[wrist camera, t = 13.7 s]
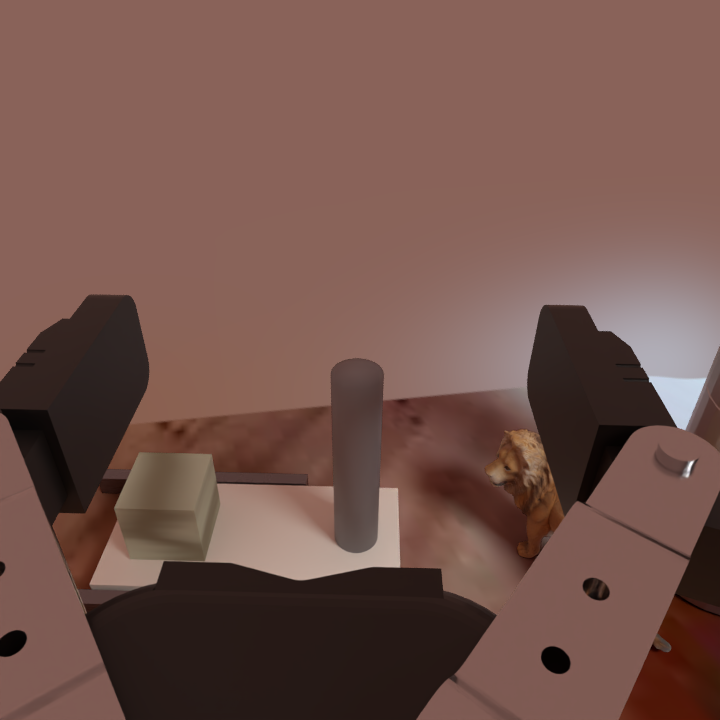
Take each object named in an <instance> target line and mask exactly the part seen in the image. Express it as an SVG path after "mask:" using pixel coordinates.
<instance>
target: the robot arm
mask: <svg viewBox="0 0 720 720" xmlns="http://www.w3.org/2000/svg"><path fill="white" fill-rule="evenodd" d="M640 365H641V364H640V362H639V361H638V359H637V357H636V355H635V354H634V352H633V350H632V348H631V347H630V346H629V345H627V344H626V343H625V342H624V341H622V340H621V339H620V338H619V337H617V336H616V335H615V334H613V333H612V332H610V331H598V330H597V328H596V326H595V324H594V322H593V320H592V318H591V316H590V314H589V313H588V311H587V309H586V307H585V306H575V305H544V306H543V308H542V309H541V312H540V316H539V320H538V325H537V330H536V335H535V340H534V345H533V350H532V355H531V360H530V365H529V370H528V379H527V389H528V398H529V402H530V406H531V409H532V412H533V415H534V419H535V422H536V425H537V429H538V432H539V435H540V438H541V442H542V445H543V448H544V451H545V455H546V458H547V461H548V465H549V468H550V471H551V474H552V478H553V481H554V484H555V487H556V491H557V494H558V497H559V501H560V504H561V507H562V510H563V514H564V519H563V520H562V522H561V523H560V525H559V526H558V528H557V529H556V530H555V532H554V533H553V535H552V536H551V538H550V539H549V541H548V542H547V544H546V545H545V546H544V548H543V549H542V551H541V552H540V554H539V555H538V557H537V558H536V559H535V561H534V562H533V564H532V565H531V567H530V568H529V570H528V571H527V572H526V574H525V575H524V577H523V578H522V580H521V581H520V583H519V584H518V586H517V587H516V588H515V590H514V591H513V593H512V594H511V596H510V597H509V599H508V600H507V601H506V603H505V604H504V606H503V607H502V609H501V610H500V612H499V613H498V615H496V614H494V613H493V612H491V611H490V610H488V609H487V608H485V607H483V606H481V605H479V604H477V603H475V602H473V601H471V600H469V599H467V598H464V597H462V596H459V595H456V594H454V593H450V592H446V591H443V585H442V574H441V569H433V568H397V567H369V568H364V569H359V570H354V571H349V572H344V573H339V574H334V575H329V576H324V577H319V578H313V579H308V580H294V579H290V578H286V577H282V576H279V575H275V574H271V573H268V572H264V571H260V570H256V569H253V568H249V567H245V566H241V565H238V564H234V563H220V562H184V561H164V562H163V565H162V568H161V571H160V574H159V577H158V580H157V583H155V584H150V585H146V586H143V587H140V588H137V589H134V590H131V591H128V592H126V593H123V594H121V595H119V596H116V597H114V598H112V599H110V600H108V601H106V602H104V603H103V604H101V605H99V606H97V607H96V608H94V609H92V610H91V611H89V612H88V613H87V612H86V609H85V607H84V604H83V602H82V599H81V597H80V594H79V592H78V589H77V587H76V584H75V582H74V579H73V577H72V574H71V572H70V569H69V567H68V564H67V562H66V559H65V557H64V554H63V552H62V549H61V547H60V544H59V542H58V539H57V537H56V534H55V532H54V530H53V527H52V525H53V523H54V521H55V519H56V517H57V515H58V513H86V510H87V508H88V506H89V504H90V502H91V500H92V498H93V496H94V494H95V492H96V490H97V488H98V486H99V484H100V482H101V480H102V478H103V476H104V474H105V472H106V470H107V468H108V466H109V464H110V462H111V460H112V458H113V456H114V454H115V452H116V450H117V448H118V446H119V444H120V442H121V440H122V438H123V436H124V434H125V432H126V430H127V428H128V426H129V424H130V421H131V419H132V418H133V415H134V413H135V411H136V409H137V407H138V405H139V403H140V401H141V399H142V397H143V395H144V393H145V391H146V389H147V385H148V380H149V362H148V357H147V353H146V348H145V344H144V340H143V335H142V331H141V327H140V322H139V318H138V313H137V309H136V305H135V303H134V300H133V299H132V297H131V296H129V295H89V296H87V297H86V299H85V300H84V301H83V303H82V304H81V305H80V306H79V308H78V309H77V310H76V312H75V313H74V314H73V315H72V317H71V318H70V319H62V320H60V321H58V322H57V323H55V324H54V325H52V326H50V327H49V328H47V329H46V330H44V331H43V332H41V333H40V334H39V335H38V336H37V338H36V339H35V340H34V341H33V343H32V344H31V345H30V346H29V347H28V349H27V353H24V354H23V355H22V356H21V357H20V358H19V360H18V361H17V362H16V367H12V368H11V369H10V371H9V372H8V373H7V374H6V376H5V377H4V378H3V379H2V381H1V382H0V720H618V719H619V717H620V715H621V713H622V710H623V708H624V706H625V704H626V701H627V699H628V697H629V695H630V693H631V690H632V688H633V686H634V684H635V681H636V679H637V677H638V675H639V672H640V670H641V668H642V666H643V663H644V661H645V659H646V657H647V655H648V652H649V650H650V648H651V646H652V643H653V641H654V639H655V637H656V634H657V632H658V630H659V628H660V625H661V623H662V621H663V619H664V617H665V614H666V612H667V610H668V608H669V605H670V603H671V601H672V599H673V596H674V594H677V595H680V596H681V597H682V598H684V599H685V600H687V601H688V602H690V603H692V604H694V605H696V606H698V607H700V608H702V609H704V610H707V611H710V612H712V613H715V614H718V615H720V347H719V349H718V352H717V354H716V357H715V359H714V361H713V364H712V366H711V369H710V371H709V374H708V376H707V379H706V381H705V384H704V386H703V389H702V391H701V394H700V396H699V398H698V401H697V403H696V406H695V408H694V411H693V413H692V416H691V418H690V420H689V423H688V425H687V428H686V430H682V429H679V428H677V426H676V424H675V423H674V421H673V419H672V417H671V416H670V414H669V412H668V411H667V409H666V407H665V405H664V404H663V402H662V400H661V398H660V397H659V395H658V393H657V392H656V390H655V388H654V386H653V385H652V383H651V382H649V378H648V376H647V374H646V373H645V371H644V369H643V368H641V367H640Z"/></svg>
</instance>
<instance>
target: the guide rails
mask: <svg viewBox="0 0 720 720" xmlns="http://www.w3.org/2000/svg"><path fill="white" fill-rule="evenodd" d="M130 472H131V470H121V469H107V470H106V472H105V474H104V476H103V478H102V480H101V482H100V487H101V490H102V493H121V492H122V490H123V487H124V485H125V483H126V481H127V479H128V476H129V474H130ZM215 475H216V481H217V484H253V485H292V486H308V474H276V473H237V472H215ZM78 592H79V594H80V597H81V599H82V602H83V604H84V607H85V609H86V612H87V613H88V612H89V611H91V610H92V609H94V608H96V607H97V606H99V605H101V604H103V603H104V602H106V601H108V600H110V599H112V598H114V597H116V596H119V595H121V594H123V593H126V592H128V591H123V590H89V589H78Z"/></svg>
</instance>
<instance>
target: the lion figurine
mask: <svg viewBox="0 0 720 720" xmlns="http://www.w3.org/2000/svg"><path fill="white" fill-rule="evenodd" d="M504 433H505V435H504V438H503V440H502V441H501V444H500V448H499V450H498V452H497V455H496V456H497V459H496V460H495V461H493V462H492V463H490V464H489V465H487V466H486V467H485V473H486V474H487V475H488V476H489V478H490V482H491V484H492V485H493V486H494V487H499V486H502V485H503V486H504V489H505V490H506V491H507V492H508V493H510V494H512V495H513V496H514V501H515V504H516V505H517V508H519V509H521V510H522V512H523V514H525V515H527V536H528V542H527V541H525V542H520V543H519V544H518V547H517V550H518V554H519V555H520V556H522V557H527V558H531V557H534V556H535V555H537V554H538V553H539V552H540V548H541V540H542V538H543V537H544V536H545V537H550V536H552V535H553V533H554V532H555V530H556V529H557V528H558V526H559V525H560V523H561V522H562V520H563V519H564V514H563V510H562V507H561V504H560V501H559V497H558V494H557V491H556V487H555V484H554V481H553V478H552V474H551V471H550V468H549V465H548V461H547V458H546V455H545V451H544V448H543V445H542V442H541V438H540V435H538V434H537V433H535V432H531V431H528V430H527V429H519V430H517V431H515V430H513V431H511V432H509V431H504ZM653 645H654V646H655V647H656V648H657V649H660V650H662V651H664V652H669V651H670V650H671V646H670V644H669V643H668V642H666V641H665V640H664V639H663V638H661V636H660V635H659V634H656V637H655V639H654V641H653Z"/></svg>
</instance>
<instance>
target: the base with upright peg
mask: <svg viewBox="0 0 720 720" xmlns="http://www.w3.org/2000/svg"><path fill="white" fill-rule="evenodd" d="M383 379H384V374H383V370H382V368H381V367H380V366H379V365H378V364H376V363H375V362H372V361H370V360H366V359H359V358H357V359H348V360H344V361H342V362H339V363H338V364H336V365H335V366H334V367H333V369H332V371H331V402H332V403H331V405H332V447H333V487H330V486H292V485H253V484H217V487H218V492H219V498H220V508H219V512H218V515H217V519H216V523H215V526H214V530H213V534H212V537H211V541H210V545H209V548H208V552H207V556H206V559H205V561H184V562H220V563H234V564H238V565H241V566H245V567H249V568H253V569H256V570H260V571H264V572H268V573H271V574H275V575H279V576H282V577H286V578H290V579H294V580H308V579H313V578H319V577H324V576H329V575H334V574H339V573H344V572H349V571H354V570H359V569H364V568H369V567H397V568H400V545H399V511H398V488H379V486H380V460H381V433H382V406H383ZM164 561H174V560H139V559H130V557H129V553H128V550H127V547H126V544H125V541H124V538H123V535H122V532H121V529H120V525H119V522H118V520H117V522H116V524H115V527H114V529H113V531H112V534H111V536H110V538H109V540H108V543H107V545H106V547H105V550H104V552H103V554H102V557H101V559H100V561H99V563H98V566H97V568H96V570H95V573H94V575H93V577H92V579H91V582H90V584H89V585H90V587H91V590H123V591H131V590H134V589H137V588H140V587H143V586H146V585H150V584H155V583H157V580H158V577H159V574H160V571H161V568H162V565H163V562H164Z"/></svg>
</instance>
